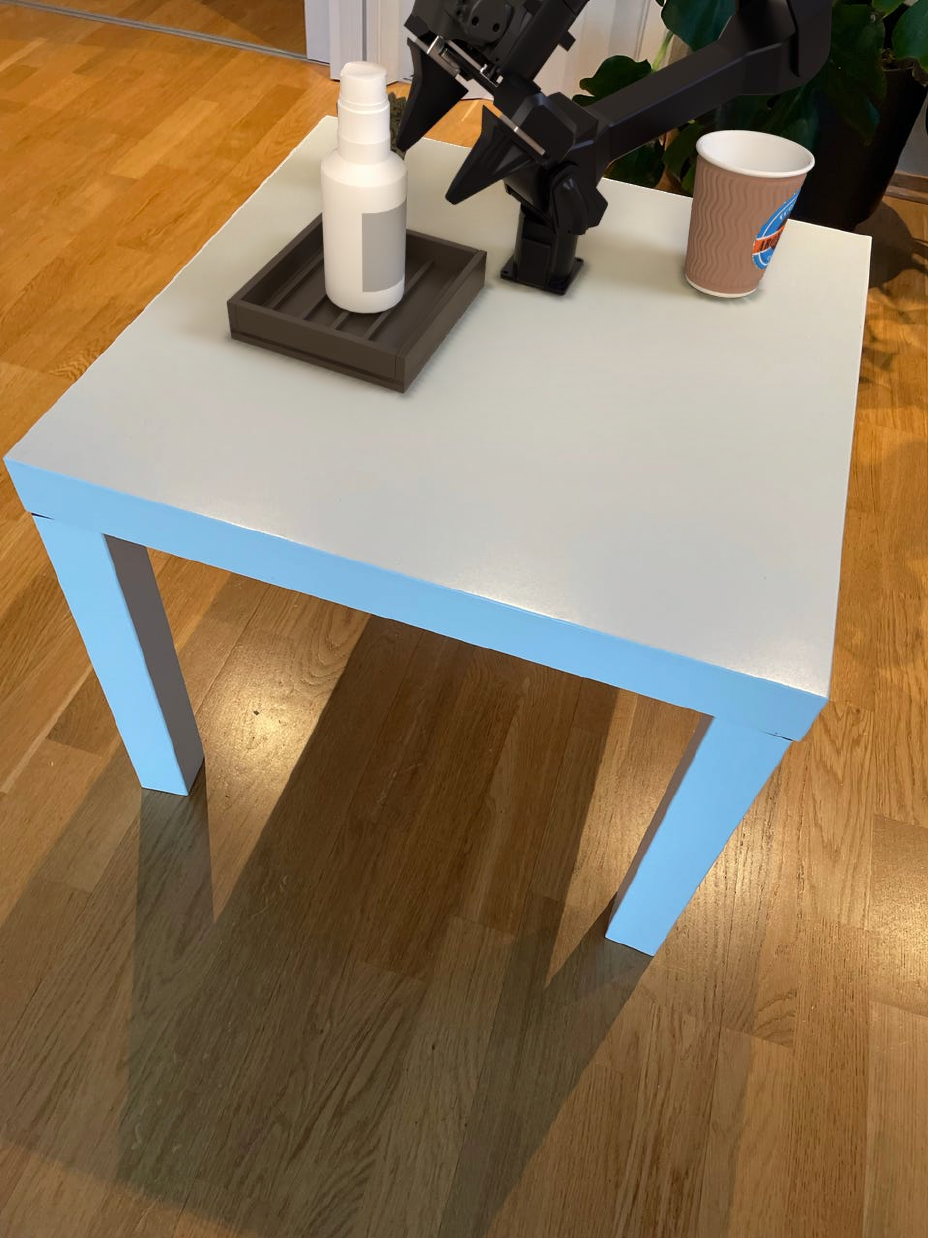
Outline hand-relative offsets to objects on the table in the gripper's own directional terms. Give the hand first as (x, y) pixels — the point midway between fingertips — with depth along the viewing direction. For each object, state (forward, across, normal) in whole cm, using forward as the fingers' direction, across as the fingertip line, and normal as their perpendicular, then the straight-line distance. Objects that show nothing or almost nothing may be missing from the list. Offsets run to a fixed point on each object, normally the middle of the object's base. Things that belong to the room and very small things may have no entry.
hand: (423, 174), depth 77 cm
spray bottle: (+11, 0, +2) cm, 11 cm away
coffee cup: (-9, +8, +30) cm, 32 cm away
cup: (+6, -20, +11) cm, 24 cm away
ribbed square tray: (+12, 0, +3) cm, 13 cm away
